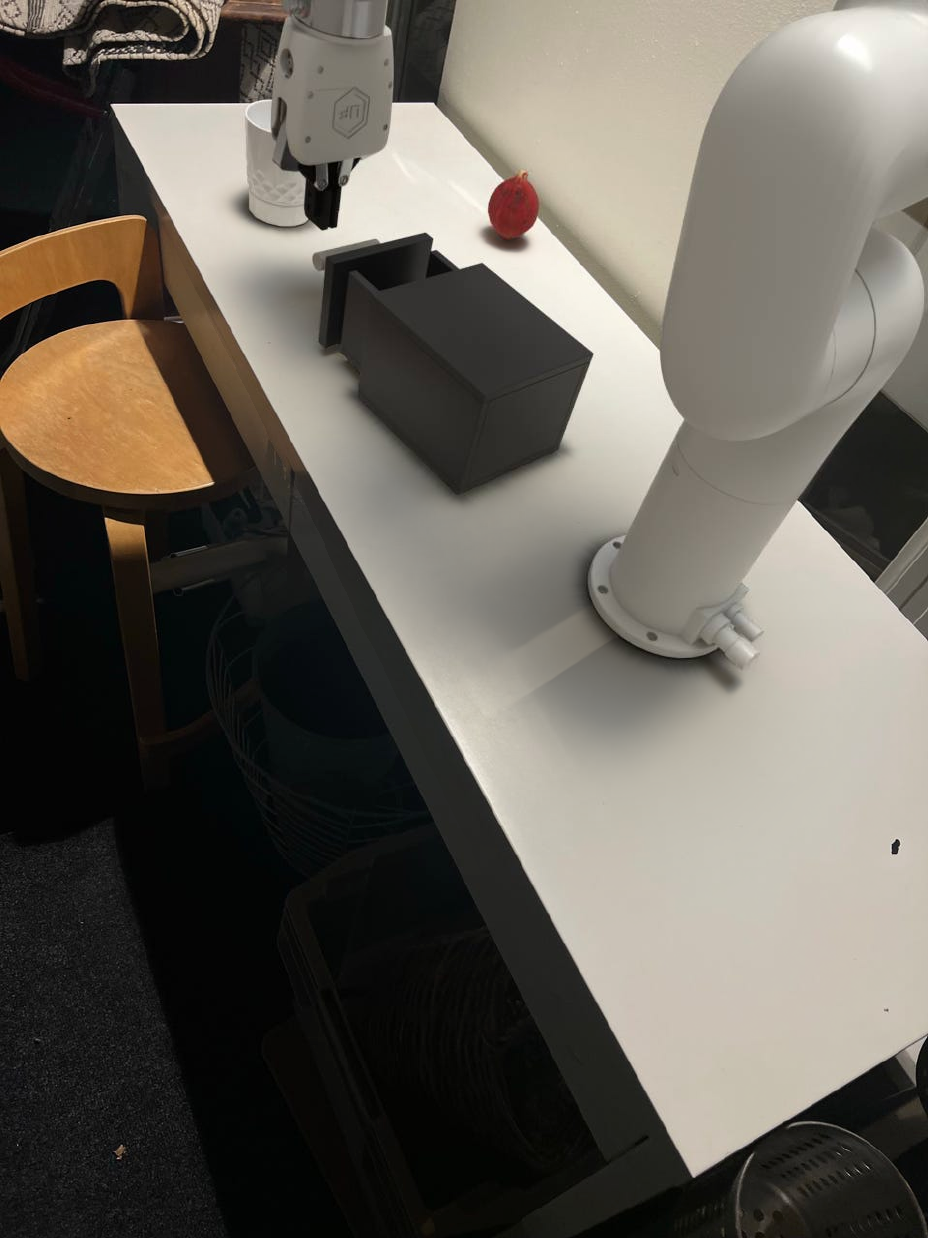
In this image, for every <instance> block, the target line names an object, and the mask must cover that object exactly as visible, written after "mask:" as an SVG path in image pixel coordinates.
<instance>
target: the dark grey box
mask: <svg viewBox="0 0 928 1238" xmlns="http://www.w3.org/2000/svg"><path fill="white" fill-rule="evenodd" d="M593 357H594V352H593V351H591V350H590V349H589V348H587V347H586V346H585V345H584V344H583V343H582V342H580V341H579V340H578V339H577V338H576V337H574V336H573V335H572V334H571V333H569V332H568V331H567V330H566V329H565V328H563V327H562V326H561V325H559V324H558V323H557V322H556V321H554V320H553V319H552V318H551V317H550V316H548V314H546V313H545V312H544V311H542V310H541V309H540V308H538V307H537V306H536V305H535V304H534V303H533V302H531V301H530V300H529V299H527V298H526V296H524V295H522V293H520V292H519V291H518V290H516V289H515V288H514V287H513V286H512V285H510V284H509V283H508V282H507V281H505V280H504V279H503V278H502V277H500V275H498V274H497V273H495V271H493V270H492V269H491V268H489V267H488V266H487V265H486V264H485V263H483V262H480V263H476V264H472V265H469V266H466V267H462V268H459V269H458V270H454V271H451V272H447V273H444V274H440V275H436V276H433V277H429V278H426V279H422V280H418V281H415V282H411V283H408V284H404V285H400V286H397V287H393V288H389V289H386V290H382V291H379V292H375V293H372V294H371V299H370V305H369V313H368V320H367V327H366V334H365V342H364V349H363V356H362V363H361V371H359V378H358V386H357V395H356V396H357V397H358V399H360V400H361V401H362V402H363V403H364V405H366V406H367V407H368V408H369V409H370V410H371V411H372V412H373V413H374V414H375V415H376V416H377V417H378V418H379V419H380V420H381V421H382V422H383V423H384V424H385V425H386V426H387V427H388V428H389V429H390V430H392V432H394V433H395V434H396V435H397V436H398V437H399V438H400V440H402V441H403V443H405V444H406V445H407V446H408V447H409V448H410V449H411V450H412V451H413V452H414V453H415V454H416V455H417V456H418V457H419V458H420V459H421V460H422V461H423V462H424V463H425V464H426V465H427V466H428V467H429V468H430V469H431V470H432V471H433V472H434V473H435V474H436V475H437V476H439V478H441V479H442V480H443V482H444V483H446V485H448V487H449V488H451V489H452V490H453V492H455V493H456V494H457V495H459V494H462V493H463V492H466V491H468V490H471V489H473V488H475V487H478V486H479V485H482V484H484V483H486V482H488V481H490V480H493V479H495V478H497V477H500V476H501V475H504V474H506V473H508V472H510V471H513V470H515V469H517V468H520V467H521V466H523V465H526V464H529V463H531V462H533V461H535V460H537V459H539V458H541V457H544V456H545V455H548V454H550V453H552V452H554V451H557V450H559V449H560V446H561V443H562V441H563V438H564V436H565V432H566V430H567V427H568V425H569V422H570V419H571V417H572V413H573V411H574V408H575V405H576V402H577V400H578V398H579V396H580V392H581V390H582V387H583V385H584V381H585V379H586V376H587V373H588V371H589V368H590V365H591V362H592V360H593Z"/></svg>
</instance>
